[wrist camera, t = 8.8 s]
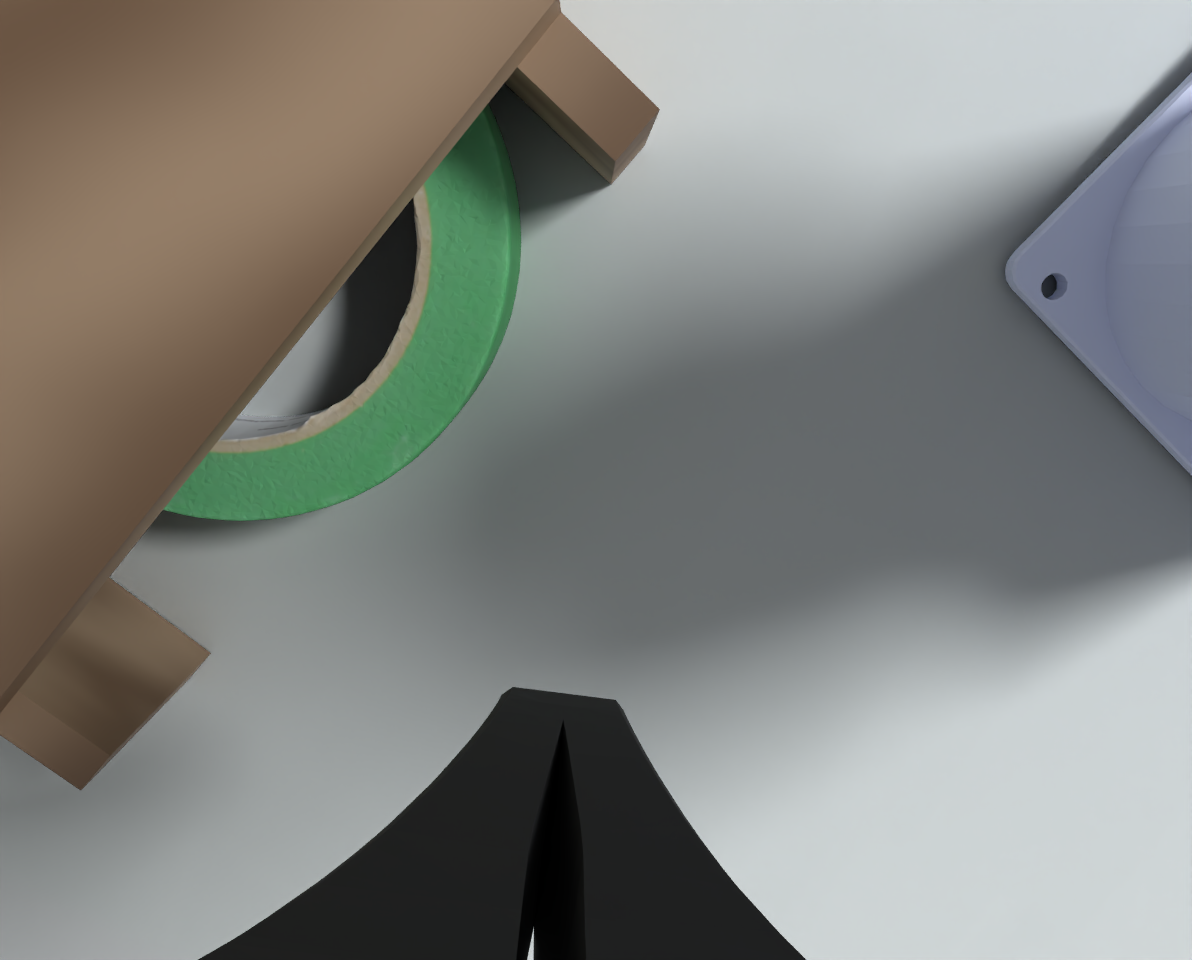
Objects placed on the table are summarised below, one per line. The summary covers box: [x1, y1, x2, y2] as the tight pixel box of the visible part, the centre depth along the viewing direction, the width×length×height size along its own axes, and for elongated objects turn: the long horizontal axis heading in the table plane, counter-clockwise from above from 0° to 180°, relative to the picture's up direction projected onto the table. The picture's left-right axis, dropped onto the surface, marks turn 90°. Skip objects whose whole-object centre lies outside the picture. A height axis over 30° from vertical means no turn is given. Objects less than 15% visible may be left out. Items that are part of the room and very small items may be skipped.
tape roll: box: [163, 104, 521, 521], centre depth 16 cm, size 11×11×3 cm
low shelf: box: [0, 0, 660, 790], centre depth 15 cm, size 13×16×5 cm
